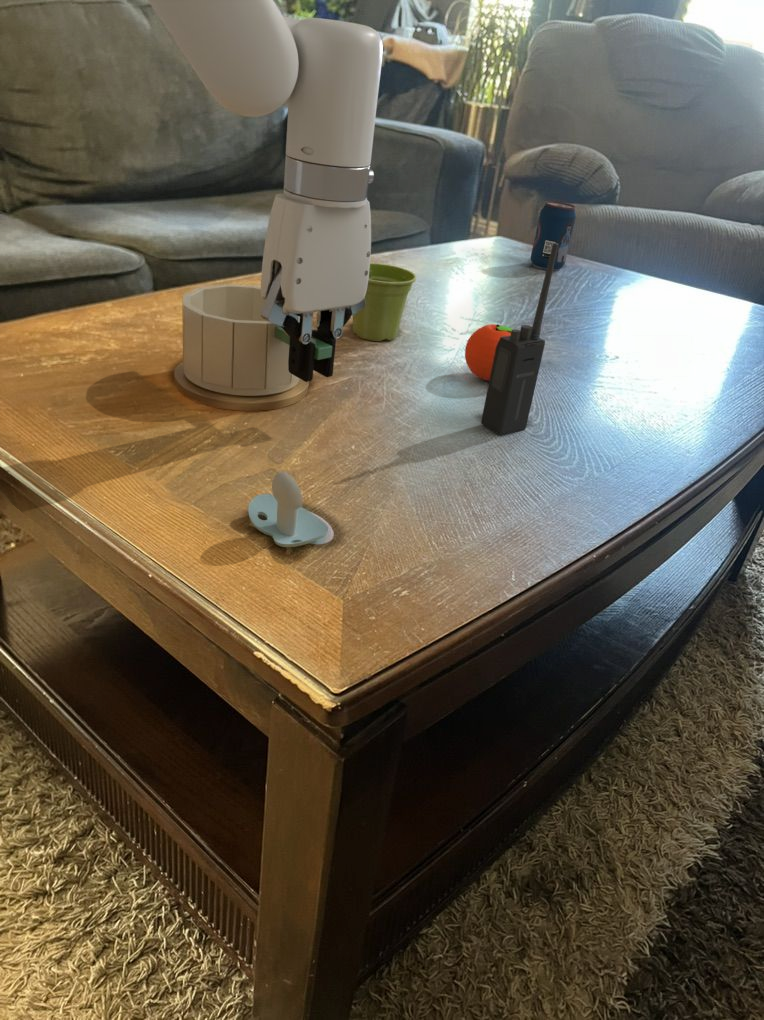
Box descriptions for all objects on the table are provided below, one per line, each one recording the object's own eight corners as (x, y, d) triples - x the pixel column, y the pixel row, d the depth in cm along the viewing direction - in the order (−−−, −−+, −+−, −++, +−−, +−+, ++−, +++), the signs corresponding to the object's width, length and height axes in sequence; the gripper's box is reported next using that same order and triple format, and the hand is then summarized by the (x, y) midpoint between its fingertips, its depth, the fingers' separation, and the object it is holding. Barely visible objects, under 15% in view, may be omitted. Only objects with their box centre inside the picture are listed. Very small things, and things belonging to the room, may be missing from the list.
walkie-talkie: (506, 416, 89) (546, 238, 79) (527, 428, 87) (571, 246, 77) (476, 423, 87) (514, 239, 76) (497, 436, 85) (539, 248, 74)
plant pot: (332, 338, 105) (338, 273, 100) (351, 319, 113) (357, 258, 108) (399, 351, 104) (408, 287, 99) (413, 331, 112) (422, 270, 107)
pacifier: (294, 507, 67) (237, 526, 63) (301, 442, 64) (242, 458, 60) (351, 546, 63) (294, 570, 59) (361, 479, 60) (302, 499, 56)
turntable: (222, 422, 79) (223, 413, 79) (149, 371, 88) (148, 362, 88) (335, 394, 89) (335, 386, 88) (258, 351, 97) (258, 343, 97)
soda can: (531, 260, 160) (545, 198, 154) (565, 266, 159) (580, 205, 152) (526, 266, 154) (540, 203, 148) (561, 273, 153) (576, 210, 147)
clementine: (518, 372, 102) (529, 320, 99) (526, 393, 96) (539, 338, 93) (458, 365, 102) (467, 312, 98) (462, 386, 96) (473, 330, 92)
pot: (268, 431, 76) (272, 354, 72) (160, 362, 87) (158, 291, 83) (365, 405, 84) (374, 333, 80) (255, 345, 96) (258, 279, 91)
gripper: (363, 173, 77) (344, 350, 86) (227, 174, 67) (223, 374, 76) (417, 189, 72) (391, 374, 82) (280, 193, 62) (268, 403, 72)
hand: (310, 373), depth 79 cm, fingers closed on pot, 2 cm apart
